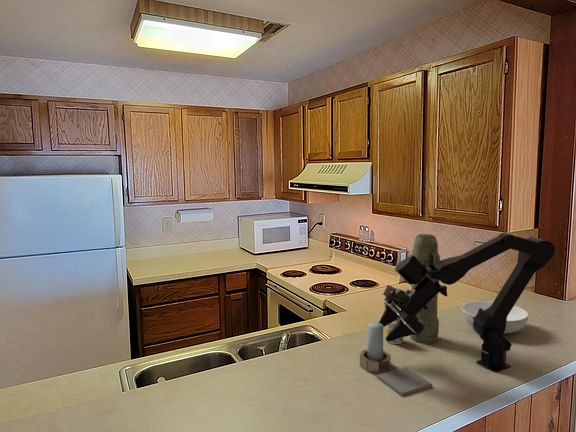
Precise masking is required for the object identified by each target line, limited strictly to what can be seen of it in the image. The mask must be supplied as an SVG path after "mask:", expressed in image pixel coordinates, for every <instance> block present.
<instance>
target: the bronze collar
mask: <svg viewBox="0 0 576 432" xmlns="http://www.w3.org/2000/svg"><path fill="white" fill-rule="evenodd" d="M391 365H392V355H391V354H390V353H389V352H387V351H385V350H384V349H383V360H380V361H375V360H369V359H368V349H365V350H361V351H360V354H359V367H361V368H362V369H363V370H364V371H366V372H370V373H377V374H382V373H386V372H390V371H391V370H390V369H391Z"/></svg>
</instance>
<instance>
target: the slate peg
mask: <svg viewBox="0 0 576 432" xmlns="http://www.w3.org/2000/svg"><path fill="white" fill-rule="evenodd" d="M367 350H368V359H369V360H375V361H380V360H383V350H384V327H383V325H382V324H380V323H379V322H368V323H367Z"/></svg>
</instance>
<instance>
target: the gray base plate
mask: <svg viewBox="0 0 576 432" xmlns="http://www.w3.org/2000/svg"><path fill="white" fill-rule="evenodd" d="M376 379H377V380H379V381H380V382H382V383H383V384H384V385H385V386H386V387H388V388H389V389H391V390H393V391H394V392H396V394H398V395H399V396H401V397H404V396H406V395H409V394H413V393H417V392H419V391H423V390H426V389H429V388H432V387H433V383H431V382H430V381H429V380H427V379H425V378H424V377H422V376H421V375H419V374H417V373H415V372H414V371H412V370H411V369H409V367H408V368H407V366H405V367H402V368H397V369H395V370H389V371H385V372H382V373H378V374H376Z"/></svg>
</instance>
